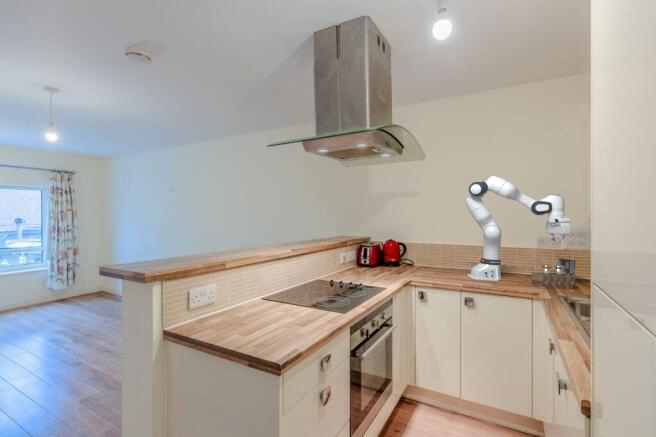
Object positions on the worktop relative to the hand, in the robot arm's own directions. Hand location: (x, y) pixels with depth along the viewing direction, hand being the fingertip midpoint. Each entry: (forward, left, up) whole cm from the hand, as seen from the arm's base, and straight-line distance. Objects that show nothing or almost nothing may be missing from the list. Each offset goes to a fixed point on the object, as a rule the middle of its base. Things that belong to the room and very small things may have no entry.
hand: (557, 241), depth 199 cm
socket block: (0, +3, -30) cm, 31 cm away
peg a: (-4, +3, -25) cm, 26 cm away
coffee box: (+17, +15, -31) cm, 38 cm away
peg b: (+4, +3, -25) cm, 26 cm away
